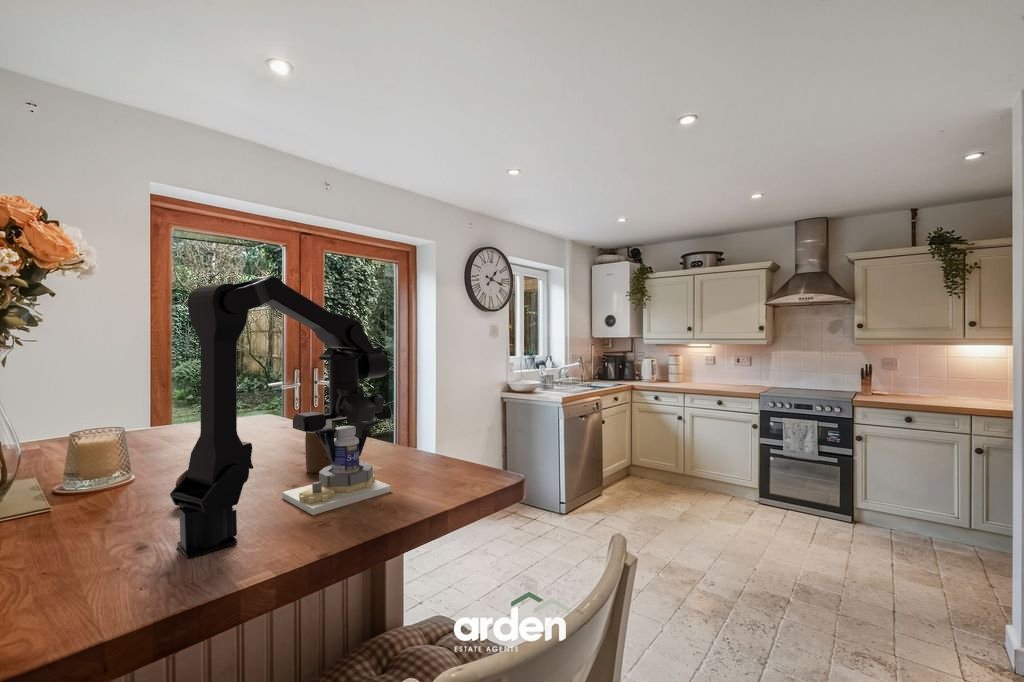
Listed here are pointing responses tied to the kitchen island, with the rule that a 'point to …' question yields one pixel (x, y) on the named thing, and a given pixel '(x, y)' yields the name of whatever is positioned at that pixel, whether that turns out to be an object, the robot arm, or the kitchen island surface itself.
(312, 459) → the mug
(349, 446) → the pill bottle
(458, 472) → the kitchen island surface
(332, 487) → the gear board
